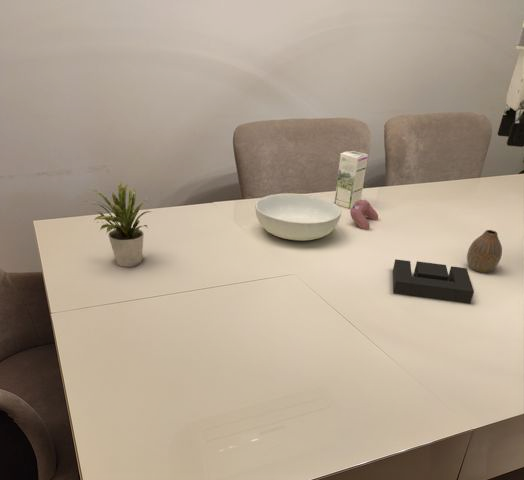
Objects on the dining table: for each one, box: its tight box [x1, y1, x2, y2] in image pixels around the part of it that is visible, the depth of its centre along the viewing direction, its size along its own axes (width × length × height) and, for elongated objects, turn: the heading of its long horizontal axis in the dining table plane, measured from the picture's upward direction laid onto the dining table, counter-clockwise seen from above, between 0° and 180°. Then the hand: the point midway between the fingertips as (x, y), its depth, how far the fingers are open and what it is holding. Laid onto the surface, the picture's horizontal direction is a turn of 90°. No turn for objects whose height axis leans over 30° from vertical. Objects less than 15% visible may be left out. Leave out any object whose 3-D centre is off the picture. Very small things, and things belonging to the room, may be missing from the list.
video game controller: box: [349, 199, 379, 231], centre depth 132 cm, size 10×5×7 cm, turn 154°
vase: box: [466, 229, 503, 274], centre depth 110 cm, size 7×7×9 cm
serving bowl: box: [254, 193, 342, 241], centre depth 123 cm, size 21×21×7 cm
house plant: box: [84, 180, 151, 268], centre depth 103 cm, size 14×14×16 cm
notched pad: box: [392, 258, 475, 305], centre depth 102 cm, size 15×11×3 cm
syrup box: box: [334, 150, 369, 210], centre depth 141 cm, size 6×6×14 cm
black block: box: [413, 260, 449, 281], centre depth 104 cm, size 6×6×4 cm
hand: (509, 140), depth 101 cm, fingers open, 9 cm apart
